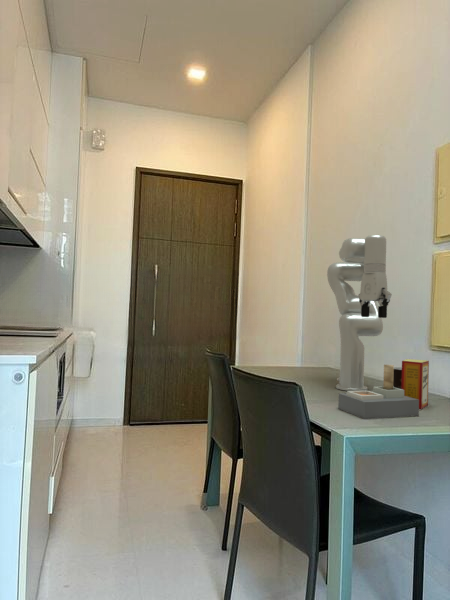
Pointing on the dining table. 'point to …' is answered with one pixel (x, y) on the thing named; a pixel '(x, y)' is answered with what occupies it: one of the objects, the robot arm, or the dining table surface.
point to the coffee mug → (397, 377)
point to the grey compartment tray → (378, 403)
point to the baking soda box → (416, 380)
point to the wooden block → (388, 377)
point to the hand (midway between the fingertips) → (373, 317)
